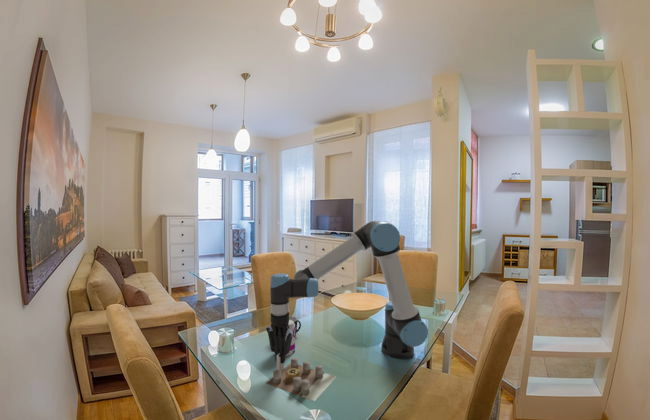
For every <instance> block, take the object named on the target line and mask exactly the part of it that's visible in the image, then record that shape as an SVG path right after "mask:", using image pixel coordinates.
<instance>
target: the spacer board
mask: <svg viewBox="0 0 650 420" xmlns="http://www.w3.org/2000/svg"><path fill="white" fill-rule="evenodd" d="M290 368H297V369H298V371H299V377H295V378H294V379H293V381H289V380H288V379H287V378H286V371H288V370H289V369H290ZM336 378H337V376H335V375H332V374H329V373H327V372H324V366H323V365H322V364H317V365H315V369H313V368H311V362H310V361H308V360H305V361H303V362H302V365H300V364H299V358H298V357H291V358H290V363H289V364H288V365H287V366H286V367H284V369H283V370H282V371H280V370H277V369H275V370H273V373H272V377H271V378H270V379H269V380H268V381H267V382H266V384H267V385H270V386H272V387H275V388H278V389H279V390H283V391H285V392H289V393H291V394H293V395H296V396H299V397H302V398H305V399H306V400H310V401H311V402H316V401H317V400H318V399H319V398H320V396H322V394H323V393H324V392H325V391H326V389H328V387H329V386H330V385H331V384H332V383H333V382H334V381H335V379H336Z"/></svg>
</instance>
